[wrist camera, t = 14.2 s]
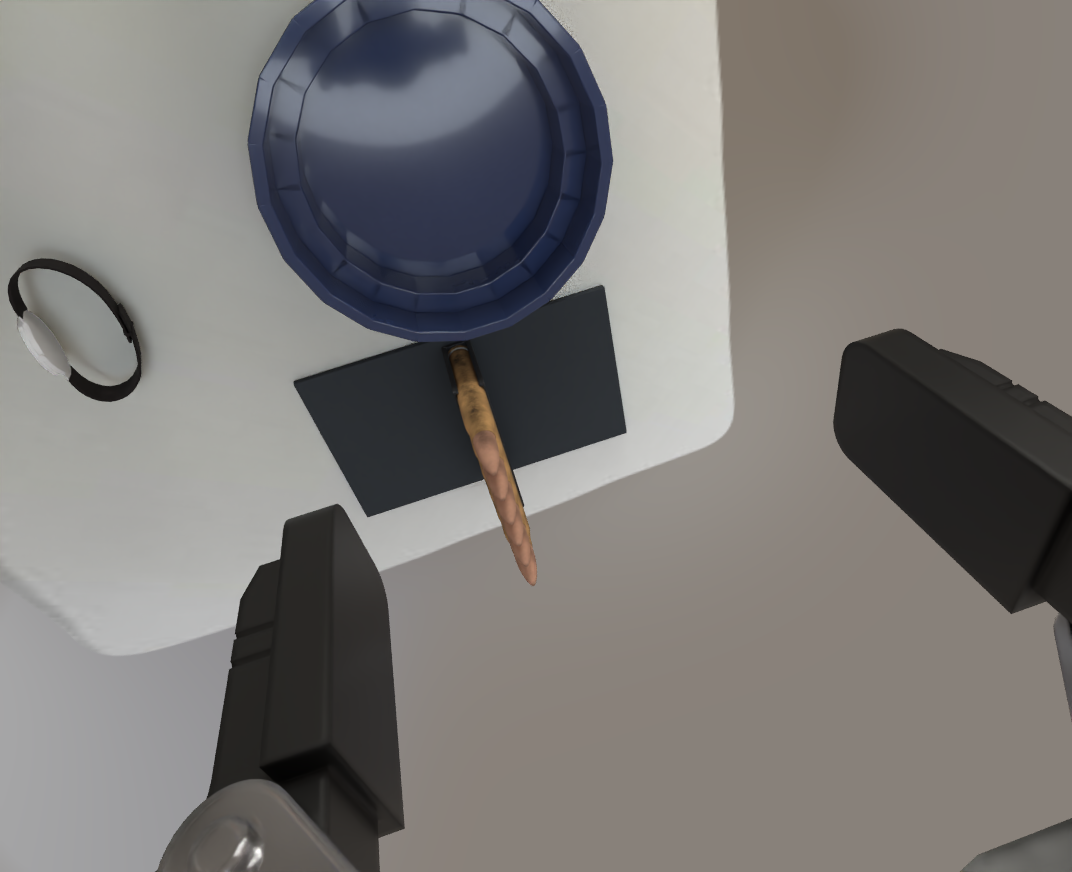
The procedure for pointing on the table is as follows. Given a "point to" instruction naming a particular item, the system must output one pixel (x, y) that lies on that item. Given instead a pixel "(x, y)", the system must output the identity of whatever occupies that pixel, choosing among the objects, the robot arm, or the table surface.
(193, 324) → the table surface
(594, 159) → the bowl
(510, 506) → the ammunition clip
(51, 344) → the watch
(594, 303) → the desk mat
